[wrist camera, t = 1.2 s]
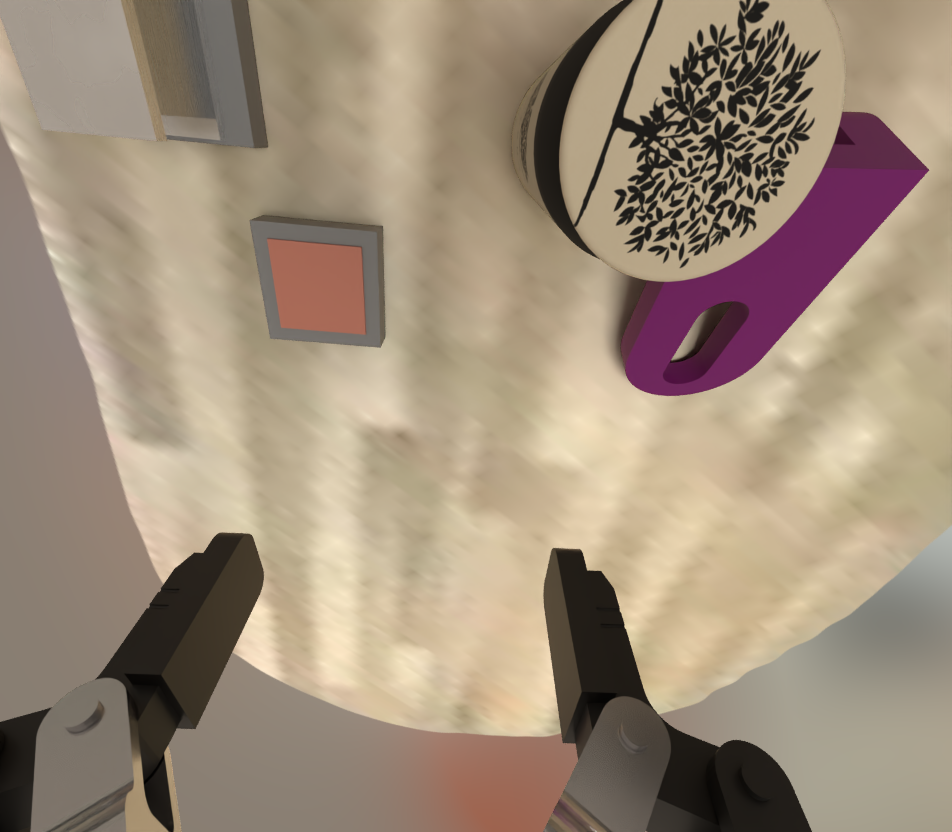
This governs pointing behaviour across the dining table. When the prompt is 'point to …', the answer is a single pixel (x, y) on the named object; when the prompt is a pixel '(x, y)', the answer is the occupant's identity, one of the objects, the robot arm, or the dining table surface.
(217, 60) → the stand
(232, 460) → the dining table surface
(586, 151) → the travel mug
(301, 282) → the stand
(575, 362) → the dining table surface
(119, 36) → the housing
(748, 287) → the mounting bracket
